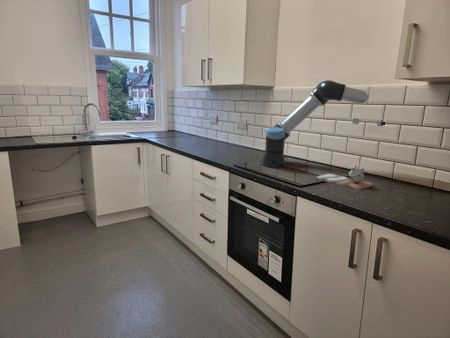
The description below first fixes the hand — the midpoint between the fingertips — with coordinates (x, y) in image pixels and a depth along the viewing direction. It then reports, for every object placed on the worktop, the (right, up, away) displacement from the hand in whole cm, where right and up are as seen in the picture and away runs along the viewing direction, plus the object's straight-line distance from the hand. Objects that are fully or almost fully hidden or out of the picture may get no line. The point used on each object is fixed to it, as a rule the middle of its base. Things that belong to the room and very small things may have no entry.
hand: (365, 122), depth 168 cm
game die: (-11, -33, -14) cm, 37 cm away
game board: (-16, -33, -9) cm, 37 cm away
